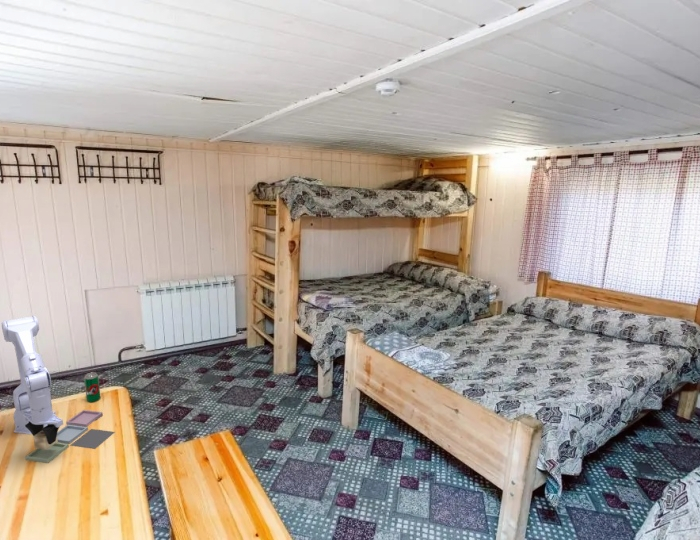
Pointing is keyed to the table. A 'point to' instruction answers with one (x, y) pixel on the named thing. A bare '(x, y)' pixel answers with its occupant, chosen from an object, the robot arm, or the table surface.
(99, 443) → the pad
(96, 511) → the table surface
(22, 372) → the robot arm
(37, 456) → the tray near
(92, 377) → the soda can
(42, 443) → the letter cube
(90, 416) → the tray far
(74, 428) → the tray mid
